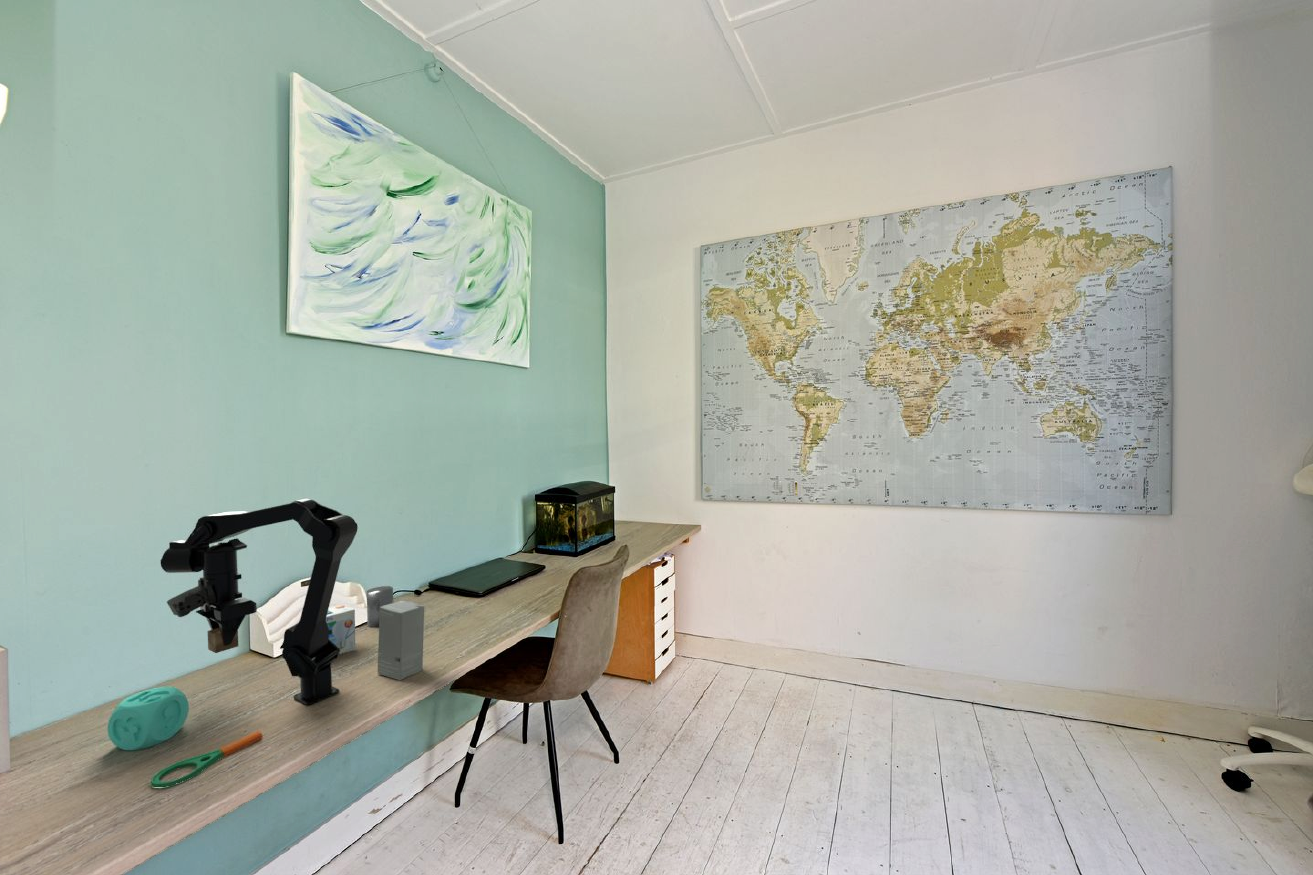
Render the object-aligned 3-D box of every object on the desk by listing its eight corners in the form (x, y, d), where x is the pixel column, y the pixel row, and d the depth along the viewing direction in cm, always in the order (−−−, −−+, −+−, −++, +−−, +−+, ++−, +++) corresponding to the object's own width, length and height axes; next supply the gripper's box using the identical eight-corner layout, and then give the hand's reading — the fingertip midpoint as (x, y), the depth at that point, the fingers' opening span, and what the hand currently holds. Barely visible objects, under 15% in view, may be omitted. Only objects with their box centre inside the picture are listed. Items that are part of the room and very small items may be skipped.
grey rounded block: (398, 621, 158) (397, 588, 158) (376, 628, 152) (374, 594, 152) (385, 617, 161) (384, 584, 161) (362, 624, 155) (361, 591, 155)
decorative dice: (151, 726, 103) (149, 685, 103) (190, 726, 103) (188, 685, 103) (107, 751, 95) (105, 707, 95) (149, 751, 95) (147, 707, 95)
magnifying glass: (159, 795, 83) (159, 785, 83) (145, 783, 86) (144, 773, 86) (268, 744, 97) (267, 735, 96) (252, 735, 100) (251, 726, 99)
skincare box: (376, 674, 123) (374, 607, 123) (404, 662, 129) (401, 598, 129) (400, 681, 119) (398, 612, 119) (427, 668, 125) (425, 603, 125)
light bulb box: (311, 664, 129) (309, 620, 129) (300, 657, 133) (299, 615, 133) (357, 649, 138) (355, 608, 138) (346, 643, 142) (344, 603, 142)
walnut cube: (238, 646, 114) (237, 628, 114) (215, 653, 111) (214, 634, 110) (230, 642, 116) (230, 624, 116) (208, 649, 113) (207, 630, 113)
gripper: (155, 575, 111) (158, 648, 111) (188, 587, 101) (191, 667, 102) (220, 563, 121) (223, 630, 121) (256, 573, 111) (259, 646, 111)
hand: (223, 642), depth 113 cm, fingers closed on walnut cube, 4 cm apart
